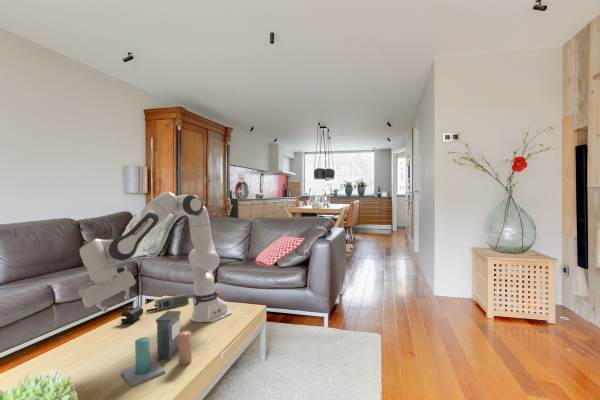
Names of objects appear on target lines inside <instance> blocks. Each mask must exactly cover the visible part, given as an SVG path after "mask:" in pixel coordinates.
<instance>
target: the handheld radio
mask: <svg viewBox="0 0 600 400" xmlns="http://www.w3.org/2000/svg"><path fill="white" fill-rule="evenodd" d="M189 296H190V295H189V293H188V292H187V293H183V294H177V295H173V296H168V297H163V298H159V299H154V302H153V303H154V305H153V306H154V307H155V308H148V309H146V310H145V311H146V313H149V312H153V311H156V312H159V311H163V310H168V309H173V308H176V307H180V306H186V305H189V304H190V301H189V300H190V299H189V298H190V297H189Z"/></svg>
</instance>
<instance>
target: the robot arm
mask: <svg viewBox="0 0 600 400" xmlns="http://www.w3.org/2000/svg"><path fill="white" fill-rule="evenodd" d="M170 215H174V216H186V217H187V218H188V222H189V223H188V224H189V233H190V241H191V243H192V245H193V247H194V248H193V249H191V250H190V252H189V253H188V261H189V262H190V267H191V273H192V279H193V294H192V303H193V304H192V305H193V309H192V314H191V318H190V320H191V321H192V322H196V323H214V322H216V321H218V320H221V319H223V318H225V317H228V316H230V315H232V310H231V309H229V308H228V304H227V302H226V301H224V300H223V299H221V298H219V297H220V296H221V295H222V294H221V292H220V291H215V277H214V275H213V273H212V271H213V270H215V269H217V268H218V267H219V266H220V260H221V259H220V256H219V255H218V252H217V250H216V247H215V244H214V241H213V237H212V229H211V222H210V216H209V212H208V209H207V208H206V206H204V204H203V201H202V199H201V198H200V197H199V196H198V195H197V194H179V195H176V194H174V193H172V192H171V191H163V192H161V193H159V194H158V195H157V196H155V197H154V198H153V199H151V201H149V202H148V203H147V204H146V205H145V206H144V207H143V209H142V210H141V212H140V219H139V221H138V222H136V224H134V225H133V227H132V228H131V229H130V230H129V231H128V232H126V233H125V234H123V235H121V236H117V237H116V238H114V239H100V238H98V237H97V238H93V239H91V240H89V241H87V242H85V243H84V244H82V245H81V246H80V247H79V255H80V258H81V260H82V263H83V265H84V267H85V268H87V269H86V270H88V275H89V277H90V280H91V281H89V282H88V283H86V284H84V285H81V286H80V287H79V288H78V291H77V293H78V295H79V297H80V298H81V300H82V303H83V305H84V307H85V308H91V307H94V306H95V307H97V308H99V309H101V310H102V312H103V313H105V312H107V311H108V307H107V306H103V305H102V302H103V301H105V300H107V299H109V298H111V297H113V296H115V295H117V294H119V293H121V292H122V291H123V292H125V295H124V296H123V298H124V300H125V301H127V300H129V299H131V297H130V288H131V287H132V286H135V284H136V278H135V277H134V275H133V274H132V272H131V271H129V270H128V268H127V266H126V265H122V266H115V267H114V266H113V265H112V263H113V262H119V261H126V260H129V259H130V258H132V257H134V255H135V254H136V252H137V249H138V247H139V245H140V242H141V241H142V240H143V239H144V238H145V237H146V236H147V235H148V234H149V233H150V232H151V231H152V229H154V228H156V227H158V226H159V225H160V224H161V223H163V222H164V221H165V220H166V219H167V218H168V217H169V216H170Z"/></svg>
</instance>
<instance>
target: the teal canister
mask: <svg viewBox="0 0 600 400" xmlns="http://www.w3.org/2000/svg"><path fill="white" fill-rule="evenodd" d="M150 341H151V339H150V337H148V336H146V337H145V336H144V337H140V338H137V339H136V340H135V341H134V342H135V344H134V346H135V350H134V351H135V352H134V353H135V366H136V374H138V375H141V374H145V373H147V372H149V371H150V360H151V347H150V346H151V344H150V343H151V342H150Z"/></svg>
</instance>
